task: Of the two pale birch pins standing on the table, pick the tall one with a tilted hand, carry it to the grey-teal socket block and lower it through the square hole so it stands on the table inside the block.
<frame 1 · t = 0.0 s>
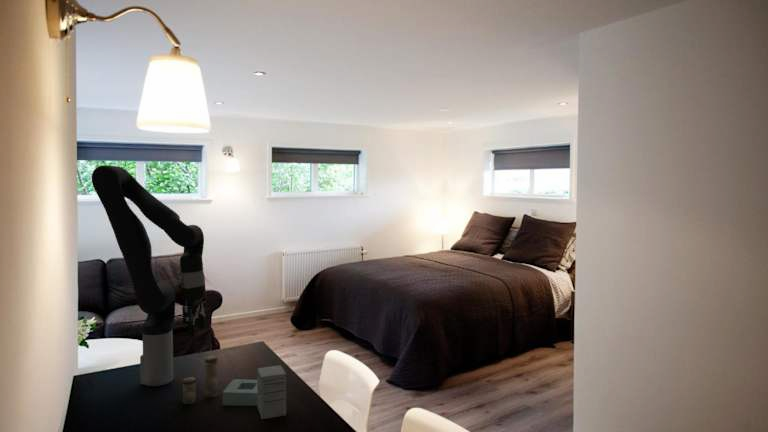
hand: (196, 332, 163), 17 cm above the table, tool pointing down, fingers open, 8 cm apart
short pin: (189, 401, 149), on the table
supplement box: (271, 413, 142), on the table
tall pin: (211, 395, 154), on the table
socket block: (247, 398, 151), on the table
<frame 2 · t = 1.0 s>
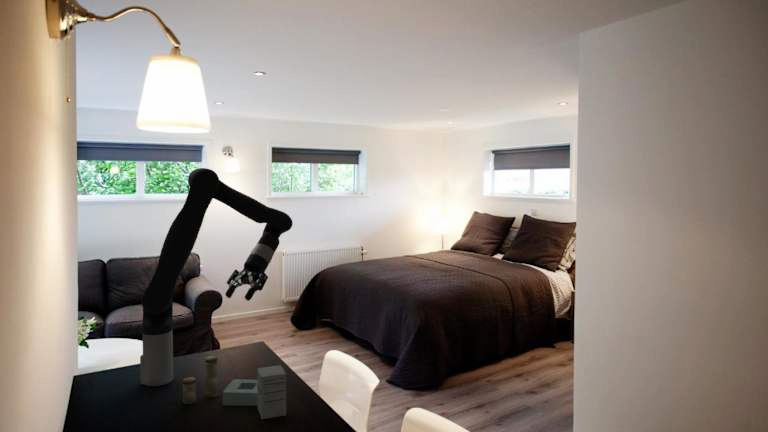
hand: (237, 298, 162), 29 cm above the table, tool tilted 45°, fingers open, 8 cm apart
nothing on the table moved.
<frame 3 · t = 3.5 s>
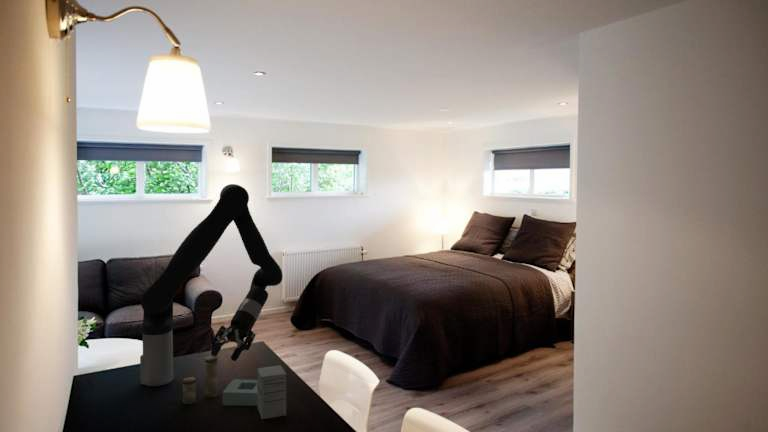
hand: (222, 357, 157), 11 cm above the table, tool tilted 45°, fingers open, 8 cm apart
nothing on the table moved.
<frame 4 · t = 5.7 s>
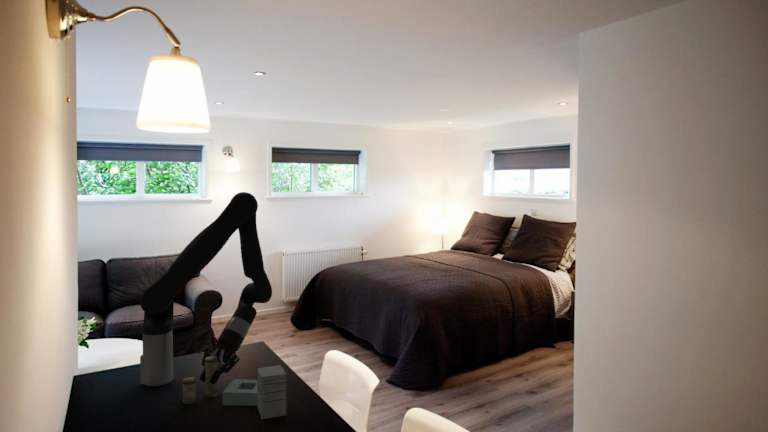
hand: (206, 381, 152), 5 cm above the table, tool tilted 45°, fingers closed on tall pin, 3 cm apart
tall pin: (211, 395, 154), on the table, touching gripper
everything else where it was.
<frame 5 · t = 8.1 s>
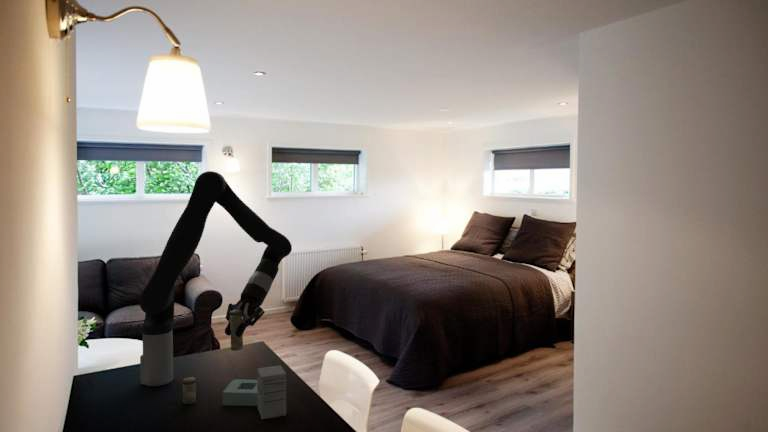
hand: (232, 334, 150), 20 cm above the table, tool tilted 45°, fingers closed on tall pin, 3 cm apart
tall pin: (237, 348, 152), point 15 cm above the table, touching gripper
everything else where it was.
when the fingers open (6 cm above the table, at t = 10.8 s): tall pin drops 1 cm, resting in socket block.
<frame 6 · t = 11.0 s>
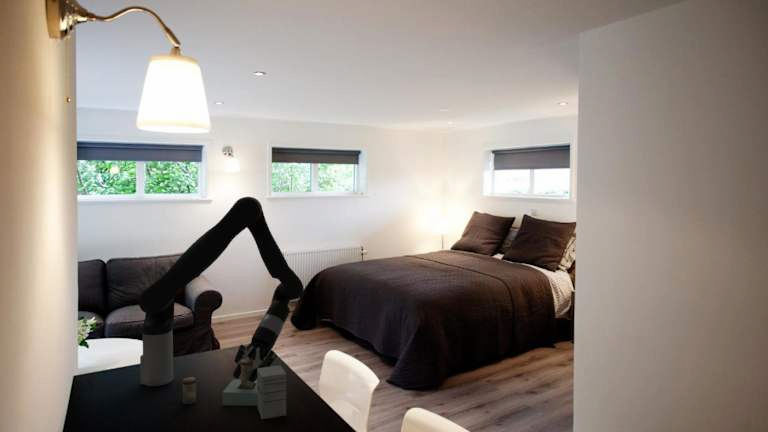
hand: (243, 379, 149), 7 cm above the table, tool tilted 45°, fingers open, 5 cm apart
tall pin: (247, 398, 152), resting in socket block
everything else where it was.
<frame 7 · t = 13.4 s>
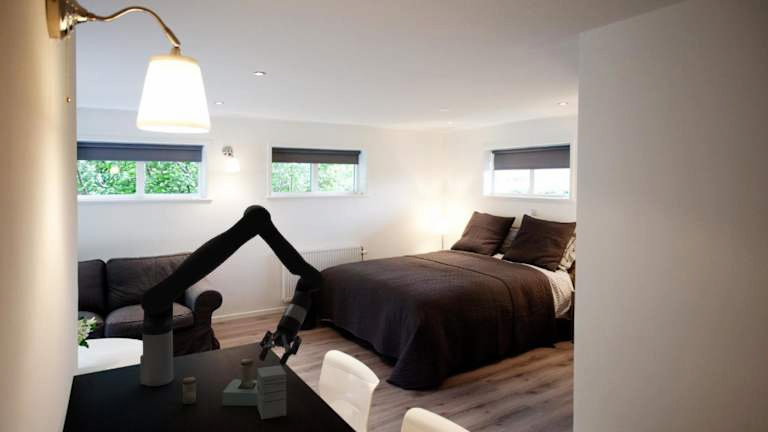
hand: (271, 362, 161), 8 cm above the table, tool tilted 45°, fingers open, 8 cm apart
nothing on the table moved.
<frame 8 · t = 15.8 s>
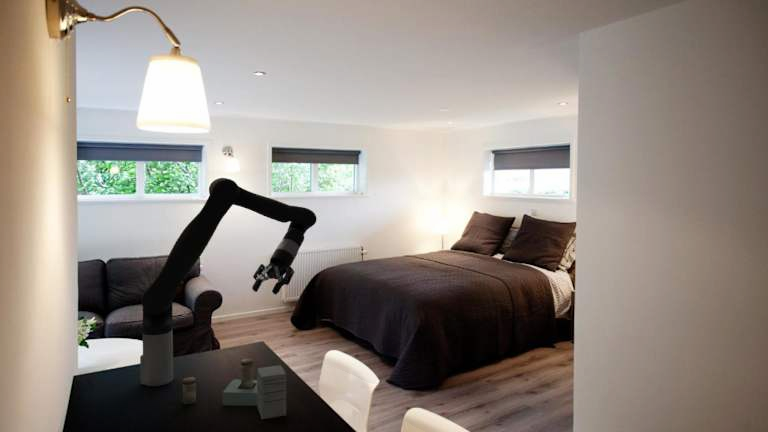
hand: (264, 291, 164), 31 cm above the table, tool tilted 45°, fingers open, 8 cm apart
nothing on the table moved.
at the end: tall pin 0.1 cm off-centre on the socket block, point 0.0 cm above the socket block's base; tall pin tilted 0°; the gripper is holding nothing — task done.
